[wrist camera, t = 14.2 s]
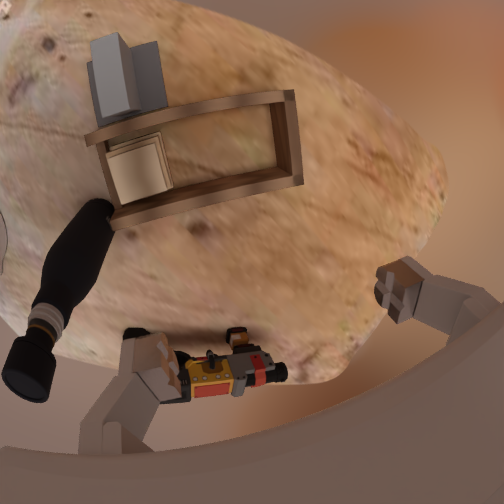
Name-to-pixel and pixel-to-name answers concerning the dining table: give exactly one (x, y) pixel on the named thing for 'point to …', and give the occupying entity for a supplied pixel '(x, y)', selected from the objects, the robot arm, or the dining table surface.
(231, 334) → the toy gun
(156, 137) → the block
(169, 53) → the dining table surface
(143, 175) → the offcut top
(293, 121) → the wooden box
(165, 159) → the offcut bottom
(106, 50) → the gray rectangular block
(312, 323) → the dining table surface
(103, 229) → the wine bottle
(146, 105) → the flat gray square tile
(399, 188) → the dining table surface
